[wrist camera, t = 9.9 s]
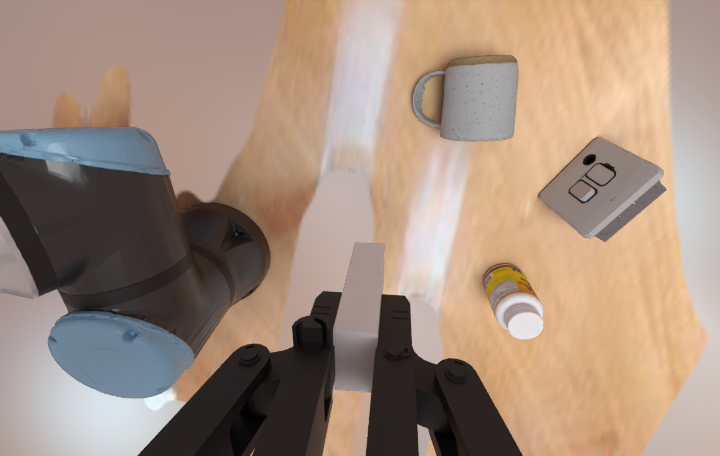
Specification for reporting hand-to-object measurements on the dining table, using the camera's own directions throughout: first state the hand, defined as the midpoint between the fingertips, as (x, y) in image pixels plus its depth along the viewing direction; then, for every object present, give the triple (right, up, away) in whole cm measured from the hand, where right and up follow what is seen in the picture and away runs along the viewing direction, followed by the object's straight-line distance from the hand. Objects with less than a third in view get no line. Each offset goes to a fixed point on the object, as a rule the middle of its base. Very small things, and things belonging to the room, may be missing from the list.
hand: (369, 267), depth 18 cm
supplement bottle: (+20, -5, +33) cm, 39 cm away
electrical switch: (+27, +8, +26) cm, 38 cm away
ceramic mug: (+11, +17, +24) cm, 31 cm away
